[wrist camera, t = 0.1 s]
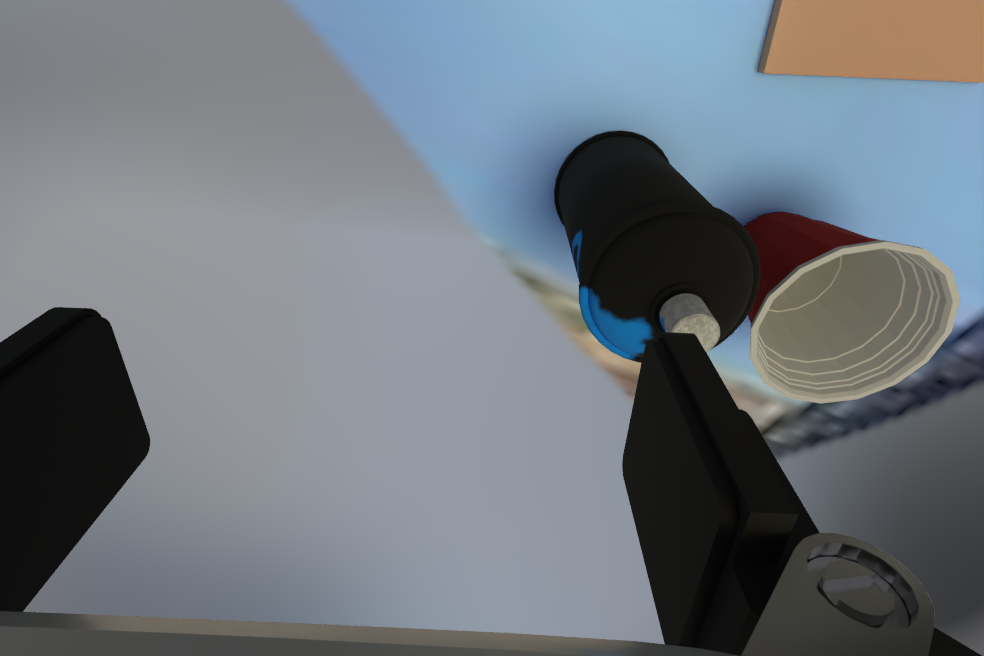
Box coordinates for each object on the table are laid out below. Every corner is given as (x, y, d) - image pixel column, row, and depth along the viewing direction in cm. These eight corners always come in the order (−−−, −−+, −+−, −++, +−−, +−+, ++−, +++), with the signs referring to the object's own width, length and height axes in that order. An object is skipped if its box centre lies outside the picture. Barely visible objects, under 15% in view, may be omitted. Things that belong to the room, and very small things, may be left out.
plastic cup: (665, 287, 43) (715, 377, 33) (747, 154, 38) (837, 210, 28) (784, 334, 45) (868, 433, 35) (878, 212, 40) (1008, 286, 30)
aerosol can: (623, 102, 37) (727, 191, 19) (696, 192, 40) (844, 339, 22) (529, 189, 40) (548, 333, 22) (603, 267, 43) (670, 448, 25)
